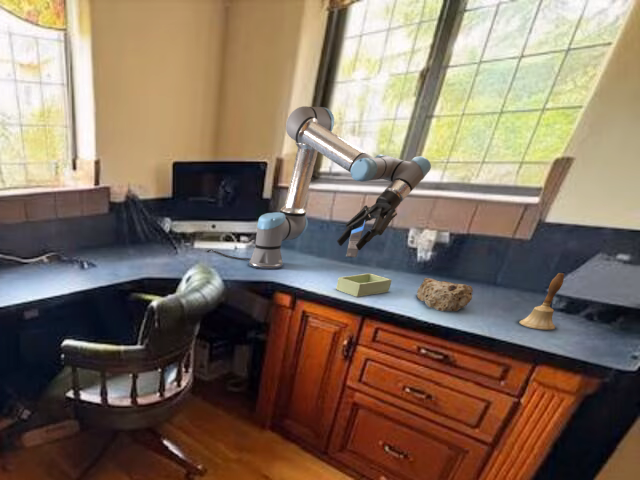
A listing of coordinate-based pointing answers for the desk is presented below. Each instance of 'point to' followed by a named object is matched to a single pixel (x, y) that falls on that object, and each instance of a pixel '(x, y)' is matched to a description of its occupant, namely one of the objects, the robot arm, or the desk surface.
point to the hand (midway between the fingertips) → (348, 245)
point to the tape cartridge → (354, 241)
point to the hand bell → (544, 308)
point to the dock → (363, 284)
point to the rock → (444, 295)
